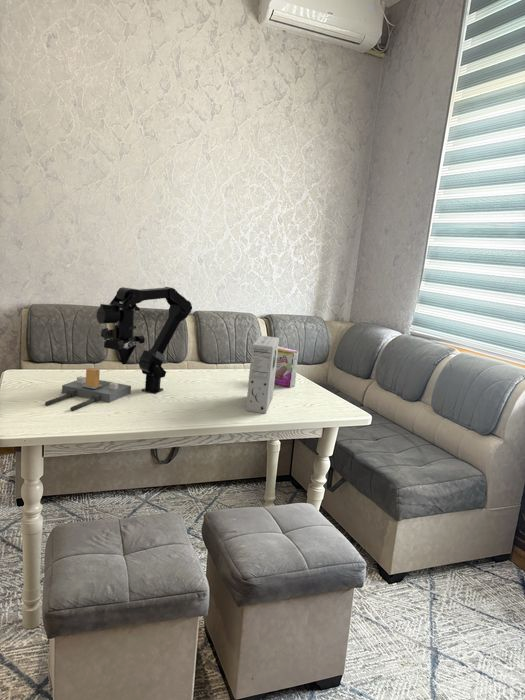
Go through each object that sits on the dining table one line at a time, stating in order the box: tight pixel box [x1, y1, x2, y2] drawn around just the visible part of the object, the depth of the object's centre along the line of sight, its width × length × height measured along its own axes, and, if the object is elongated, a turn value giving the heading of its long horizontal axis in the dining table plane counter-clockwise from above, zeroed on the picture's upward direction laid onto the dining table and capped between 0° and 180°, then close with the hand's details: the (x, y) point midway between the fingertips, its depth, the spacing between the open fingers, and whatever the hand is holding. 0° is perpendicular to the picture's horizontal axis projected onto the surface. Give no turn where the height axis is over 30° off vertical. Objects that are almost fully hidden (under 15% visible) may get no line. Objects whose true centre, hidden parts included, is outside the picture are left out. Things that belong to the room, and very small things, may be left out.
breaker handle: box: [82, 367, 102, 389], centre depth 185 cm, size 5×5×6 cm
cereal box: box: [245, 335, 280, 414], centre depth 194 cm, size 22×8×25 cm, turn 172°
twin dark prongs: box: [44, 393, 96, 412], centre depth 176 cm, size 15×11×1 cm
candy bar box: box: [274, 346, 300, 388], centre depth 227 cm, size 11×5×16 cm, turn 58°
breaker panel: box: [61, 375, 132, 404], centre depth 188 cm, size 16×20×5 cm
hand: (123, 364), depth 188 cm, fingers closed
